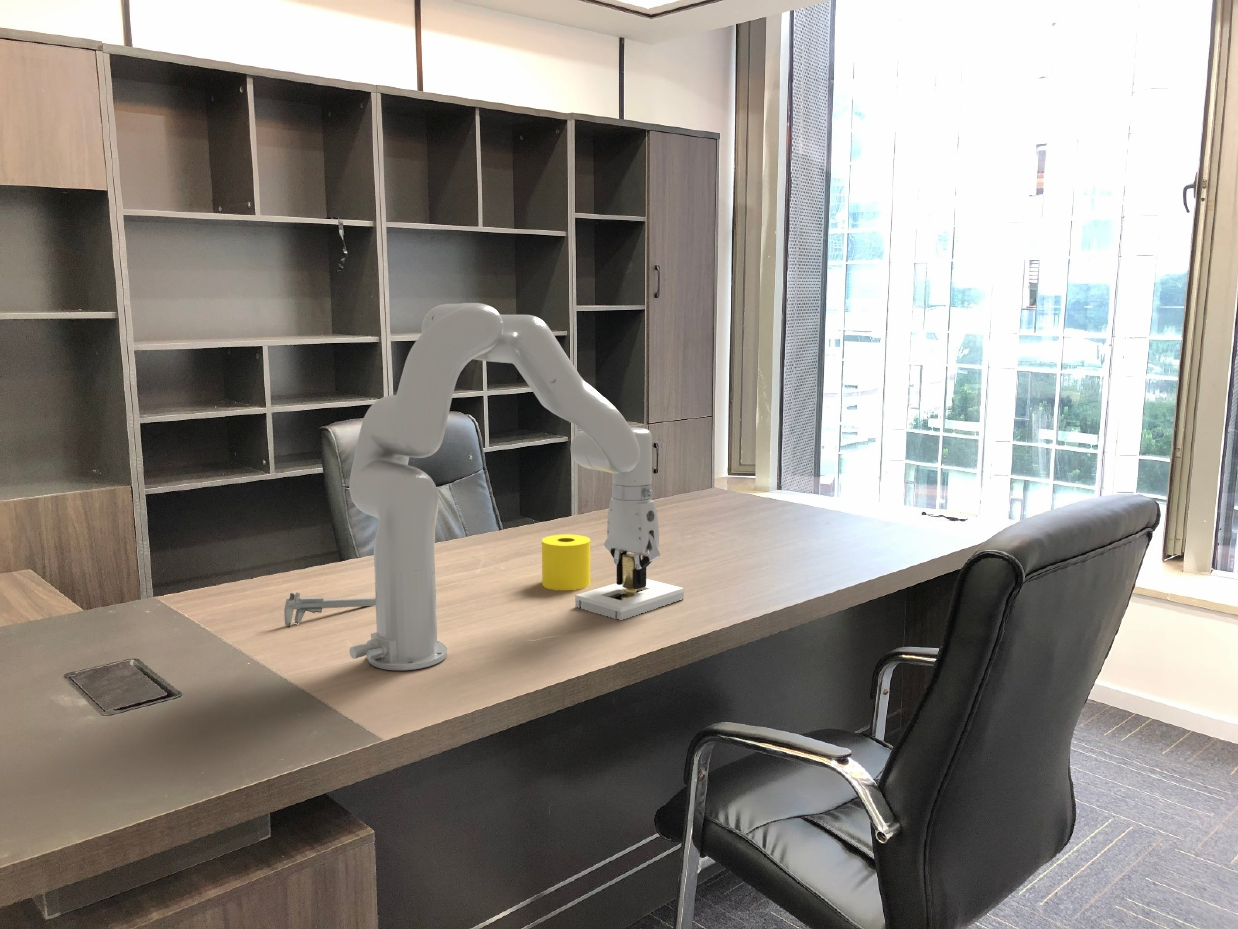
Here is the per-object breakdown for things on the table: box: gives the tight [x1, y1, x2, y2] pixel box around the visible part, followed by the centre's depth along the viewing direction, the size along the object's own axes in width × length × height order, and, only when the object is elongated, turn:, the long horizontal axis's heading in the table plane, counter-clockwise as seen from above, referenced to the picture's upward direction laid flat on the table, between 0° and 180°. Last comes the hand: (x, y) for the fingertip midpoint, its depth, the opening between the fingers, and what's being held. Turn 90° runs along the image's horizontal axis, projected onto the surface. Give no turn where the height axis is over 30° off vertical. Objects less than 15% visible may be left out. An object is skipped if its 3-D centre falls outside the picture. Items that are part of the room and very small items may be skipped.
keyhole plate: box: [574, 578, 685, 621], centre depth 184 cm, size 18×12×2 cm, turn 137°
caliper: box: [283, 592, 376, 627], centre depth 177 cm, size 20×1×6 cm, turn 138°
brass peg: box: [620, 553, 638, 600], centre depth 184 cm, size 4×4×9 cm
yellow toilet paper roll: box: [541, 534, 591, 591], centre depth 197 cm, size 10×10×9 cm
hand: (631, 584), depth 184 cm, fingers closed on brass peg, 3 cm apart
